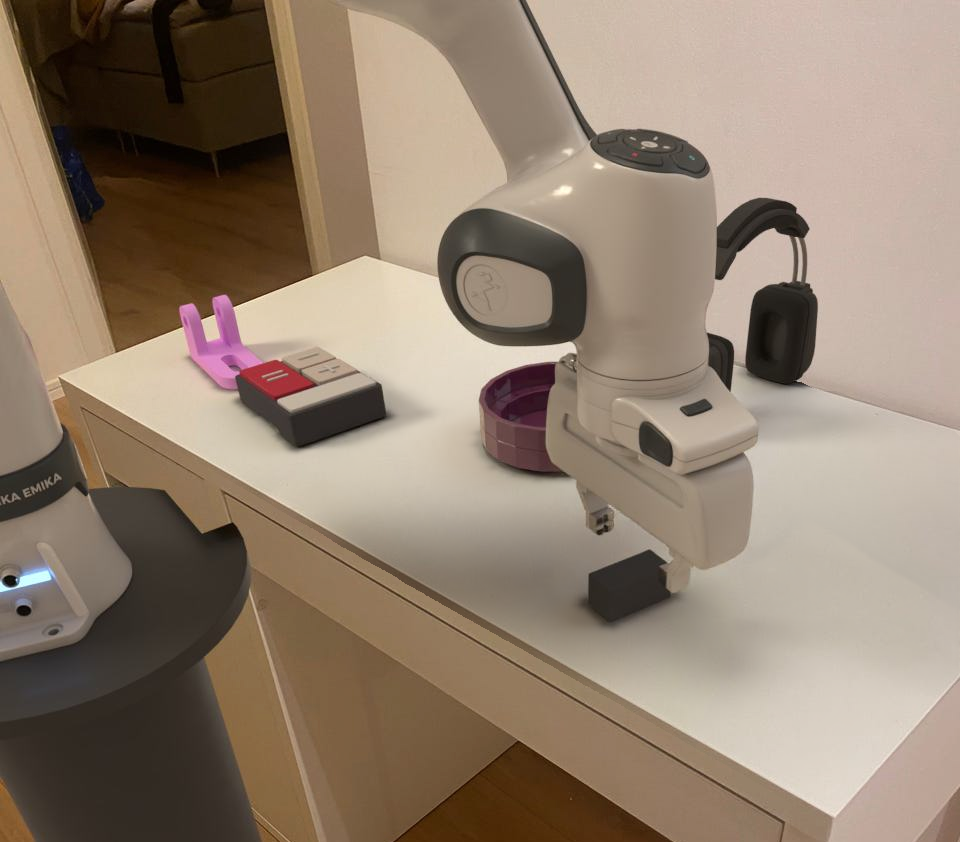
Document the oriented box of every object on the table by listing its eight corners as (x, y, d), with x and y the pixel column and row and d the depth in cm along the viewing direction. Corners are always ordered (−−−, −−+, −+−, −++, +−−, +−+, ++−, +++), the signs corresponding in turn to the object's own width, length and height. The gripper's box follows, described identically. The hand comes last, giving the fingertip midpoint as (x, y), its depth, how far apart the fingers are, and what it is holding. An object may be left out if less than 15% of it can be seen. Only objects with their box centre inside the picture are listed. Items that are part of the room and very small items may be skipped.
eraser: (609, 623, 77) (610, 592, 76) (587, 603, 79) (588, 573, 78) (670, 596, 80) (673, 566, 78) (648, 578, 82) (649, 548, 80)
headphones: (698, 449, 98) (716, 241, 85) (646, 430, 101) (656, 228, 89) (817, 372, 109) (849, 178, 96) (767, 357, 113) (791, 169, 100)
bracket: (191, 357, 123) (176, 302, 118) (233, 345, 125) (220, 290, 120) (228, 393, 114) (214, 335, 110) (273, 380, 116) (261, 322, 112)
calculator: (319, 342, 115) (382, 377, 104) (326, 377, 117) (388, 415, 107) (231, 369, 110) (287, 409, 100) (240, 405, 113) (296, 448, 102)
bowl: (533, 493, 93) (531, 445, 90) (455, 431, 104) (452, 387, 100) (662, 447, 98) (665, 400, 95) (576, 392, 109) (577, 349, 106)
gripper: (522, 355, 75) (529, 511, 83) (700, 464, 60) (686, 638, 69) (591, 333, 77) (591, 488, 86) (778, 434, 63) (755, 606, 71)
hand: (635, 556), depth 77 cm, fingers open, 8 cm apart
